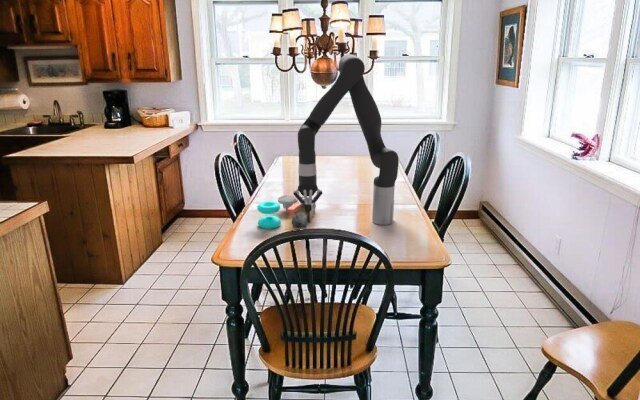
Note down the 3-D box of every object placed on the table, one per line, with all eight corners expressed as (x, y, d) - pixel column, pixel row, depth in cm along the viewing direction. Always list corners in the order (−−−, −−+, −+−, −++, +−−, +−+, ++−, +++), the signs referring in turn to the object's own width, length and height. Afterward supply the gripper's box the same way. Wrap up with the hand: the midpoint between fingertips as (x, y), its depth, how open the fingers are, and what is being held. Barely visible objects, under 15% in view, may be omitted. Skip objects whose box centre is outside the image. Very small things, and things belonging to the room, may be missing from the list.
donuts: (278, 199, 209) (281, 206, 200) (279, 220, 212) (282, 228, 203) (255, 201, 207) (258, 208, 198) (256, 222, 210) (259, 230, 201)
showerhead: (289, 201, 215) (273, 196, 221) (289, 216, 217) (274, 211, 223) (302, 196, 222) (287, 192, 228) (302, 210, 224) (287, 206, 230)
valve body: (317, 211, 223) (317, 196, 220) (305, 228, 203) (305, 212, 200) (302, 210, 224) (302, 195, 222) (290, 227, 204) (289, 211, 202)
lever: (301, 200, 214) (301, 196, 213) (310, 202, 212) (310, 197, 211) (285, 213, 198) (285, 208, 198) (295, 214, 197) (295, 209, 196)
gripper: (291, 175, 193) (292, 215, 198) (323, 175, 193) (324, 214, 199) (291, 171, 200) (292, 209, 205) (322, 170, 200) (323, 208, 206)
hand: (308, 211), depth 202 cm, fingers closed
